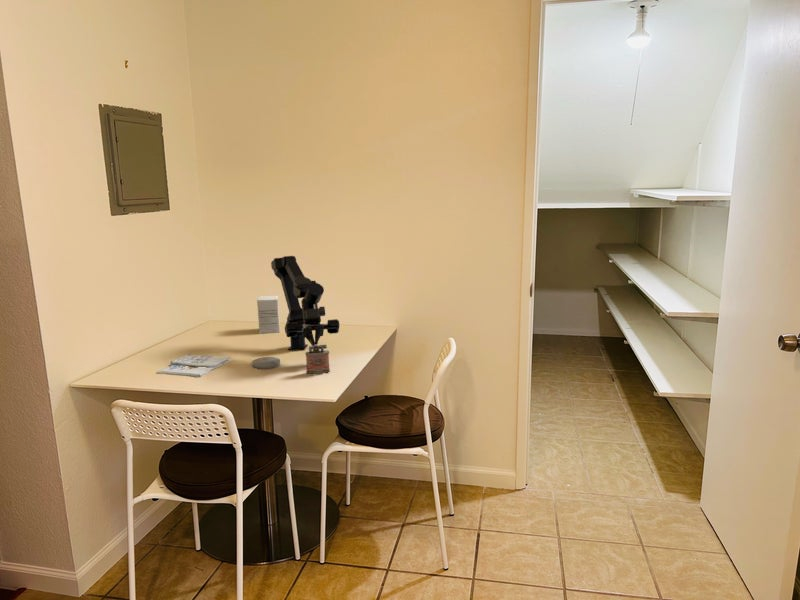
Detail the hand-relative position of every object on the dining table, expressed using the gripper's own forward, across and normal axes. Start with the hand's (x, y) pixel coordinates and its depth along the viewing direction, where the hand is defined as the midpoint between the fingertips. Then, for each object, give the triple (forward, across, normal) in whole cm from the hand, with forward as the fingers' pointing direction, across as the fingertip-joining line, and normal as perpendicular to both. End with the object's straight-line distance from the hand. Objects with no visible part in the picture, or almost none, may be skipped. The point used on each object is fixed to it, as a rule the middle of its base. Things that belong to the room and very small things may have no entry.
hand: (315, 348), depth 210 cm
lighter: (+9, 0, +1) cm, 9 cm away
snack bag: (-5, -42, +16) cm, 46 cm away
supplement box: (-37, -13, +48) cm, 62 cm away
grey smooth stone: (-2, -17, +12) cm, 21 cm away
